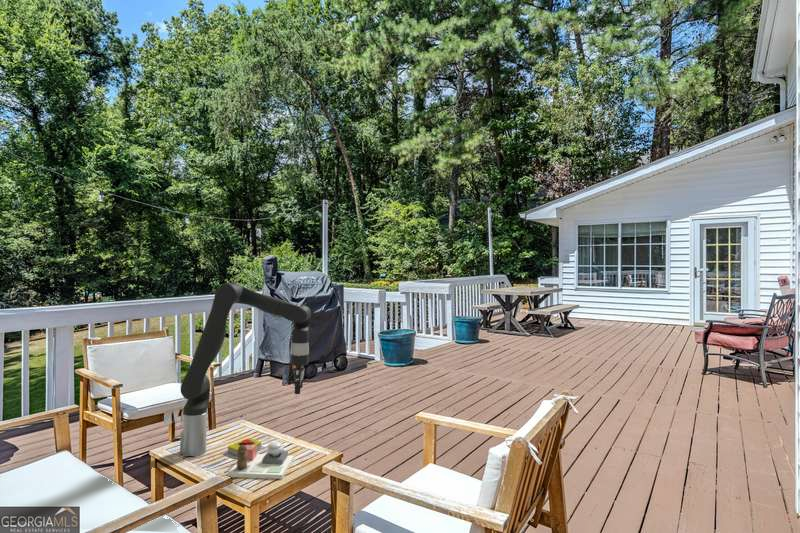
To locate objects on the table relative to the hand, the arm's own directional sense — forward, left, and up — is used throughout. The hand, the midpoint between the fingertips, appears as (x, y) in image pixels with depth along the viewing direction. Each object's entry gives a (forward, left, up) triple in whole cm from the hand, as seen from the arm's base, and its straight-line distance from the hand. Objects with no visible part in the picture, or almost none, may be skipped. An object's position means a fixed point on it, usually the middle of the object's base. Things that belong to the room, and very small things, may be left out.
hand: (298, 390), depth 186 cm
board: (-11, -11, -28) cm, 32 cm away
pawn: (-18, -15, -26) cm, 35 cm away
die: (-18, -6, -26) cm, 33 cm away
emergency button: (-24, +4, -29) cm, 38 cm away
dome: (-7, -7, -24) cm, 26 cm away
